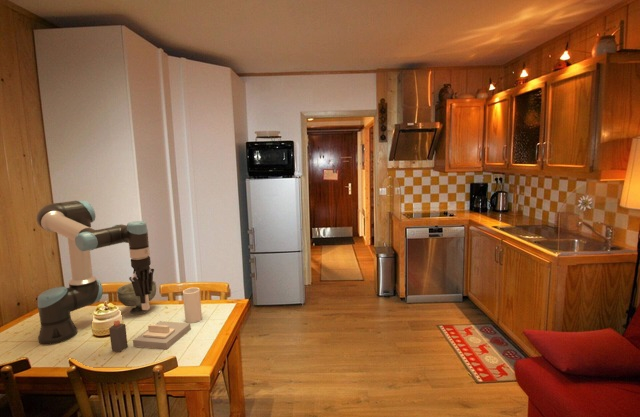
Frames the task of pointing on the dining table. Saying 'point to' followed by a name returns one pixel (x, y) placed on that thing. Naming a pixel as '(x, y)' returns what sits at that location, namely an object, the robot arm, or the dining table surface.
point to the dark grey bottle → (118, 337)
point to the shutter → (158, 331)
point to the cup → (192, 305)
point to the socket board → (163, 342)
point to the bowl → (134, 298)
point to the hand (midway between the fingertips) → (145, 309)
